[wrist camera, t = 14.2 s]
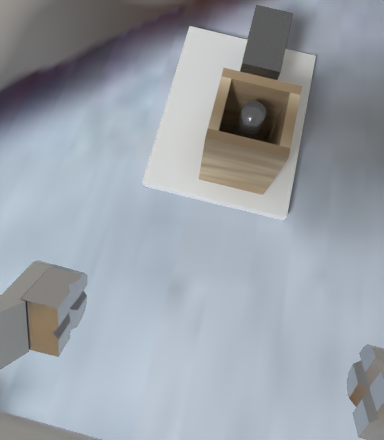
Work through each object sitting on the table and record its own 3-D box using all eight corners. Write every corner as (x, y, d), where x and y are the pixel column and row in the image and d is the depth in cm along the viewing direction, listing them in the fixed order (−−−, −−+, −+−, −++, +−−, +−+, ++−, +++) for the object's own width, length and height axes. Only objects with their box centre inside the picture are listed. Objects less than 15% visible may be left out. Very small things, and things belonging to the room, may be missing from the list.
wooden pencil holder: (262, 195, 29) (288, 158, 23) (198, 179, 30) (205, 137, 23) (284, 88, 32) (313, 27, 25) (225, 74, 32) (238, 9, 26)
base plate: (283, 220, 30) (286, 217, 29) (143, 186, 30) (142, 181, 29) (312, 63, 34) (316, 55, 33) (189, 34, 35) (189, 26, 34)
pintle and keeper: (249, 175, 31) (274, 127, 23) (215, 167, 31) (229, 116, 23) (274, 61, 34) (303, -15, 26) (243, 53, 34) (263, -24, 27)
